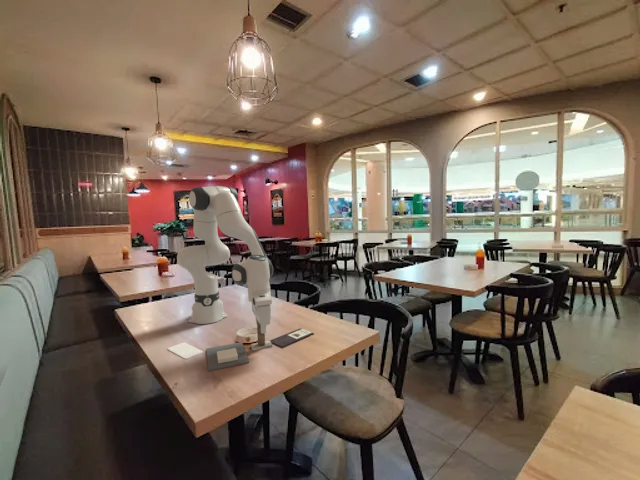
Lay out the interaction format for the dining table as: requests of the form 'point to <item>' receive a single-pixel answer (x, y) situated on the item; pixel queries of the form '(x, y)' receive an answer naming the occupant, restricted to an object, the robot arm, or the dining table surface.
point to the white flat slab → (185, 350)
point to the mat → (214, 364)
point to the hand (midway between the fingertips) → (260, 328)
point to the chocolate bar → (291, 338)
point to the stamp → (260, 340)
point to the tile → (227, 355)
